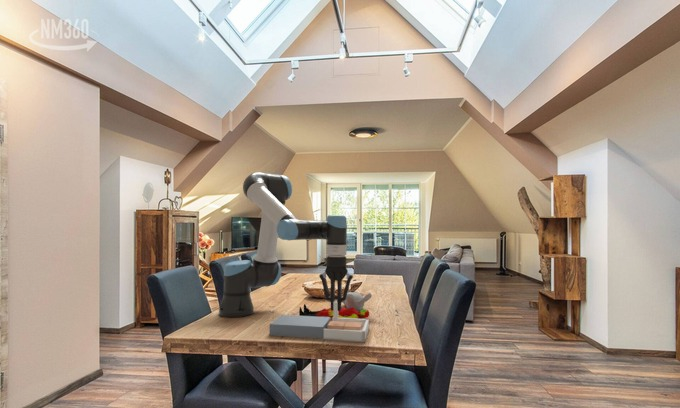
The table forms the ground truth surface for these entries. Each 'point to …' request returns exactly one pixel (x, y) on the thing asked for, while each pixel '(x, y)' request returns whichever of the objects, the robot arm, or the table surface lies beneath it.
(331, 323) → the tile
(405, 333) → the table surface
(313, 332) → the flat grey box
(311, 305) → the table surface
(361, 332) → the box
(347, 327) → the tile
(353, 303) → the toy
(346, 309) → the figurine
